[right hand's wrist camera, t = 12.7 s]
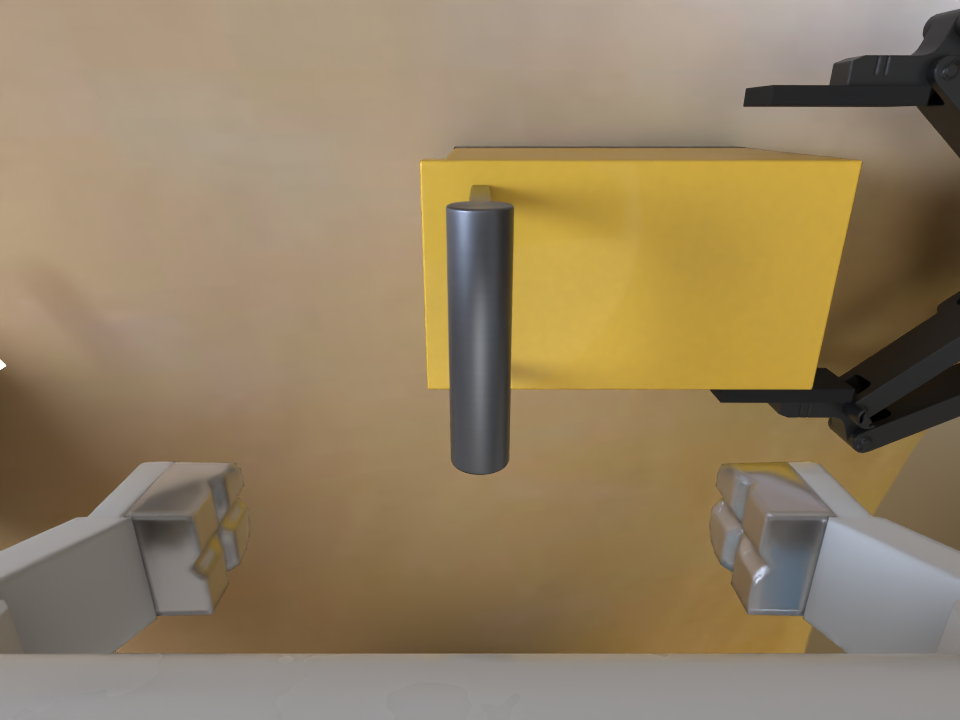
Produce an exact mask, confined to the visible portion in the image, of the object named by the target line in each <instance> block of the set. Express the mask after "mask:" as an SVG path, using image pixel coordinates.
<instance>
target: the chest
mask: <svg viewBox="0 0 960 720" xmlns="http://www.w3.org/2000/svg"><path fill="white" fill-rule="evenodd" d="M445 159H843V158H834V157H825V156H815V155H806V154H796V153H787V152H778V151H768V150H759V149H750V148H744V147H454V150H453V151H452V152H451V153H450V154H449V155H448V156H447V157H446V158H445Z"/></svg>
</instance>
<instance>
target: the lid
mask: <svg viewBox="0 0 960 720" xmlns="http://www.w3.org/2000/svg"><path fill="white" fill-rule="evenodd" d="M861 167H862V161H860V160H853V159H423V160H421V161H420V187H421V215H422V244H423V272H424V300H425V328H426V356H427V384H428V389H450V434H451V461H452V463H453V465H454V466H455V467H456V468H457V469H459V470H460V471H463V472H465V473H469V474H476V475H485V474H491V473H495V472H498V471H500V470H502V469H503V468H504V467H505V466H506V465H507V464H508V462H509V444H510V394H511V389H812V387H813V382H814V378H815V373H816V369H817V364H818V360H819V355H820V351H821V346H822V342H823V337H824V333H825V328H826V324H827V319H828V315H829V310H830V306H831V302H832V297H833V293H834V288H835V284H836V279H837V275H838V270H839V266H840V261H841V257H842V252H843V248H844V243H845V239H846V234H847V230H848V225H849V221H850V216H851V212H852V207H853V203H854V198H855V194H856V189H857V185H858V180H859V176H860V171H861Z"/></svg>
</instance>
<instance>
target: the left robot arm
mask: <svg viewBox="0 0 960 720" xmlns="http://www.w3.org/2000/svg"><path fill="white" fill-rule="evenodd" d="M923 37H924V40H923V42H922V43H921V45H920V47H919V48H918V49H917V50H916V51H915V52H914V53H913V54H912V55H910V56H909V55H890V56H888V55H880V56H878V55H865V56H859V57H853V58H847V59H844V60H842V61H839V62H837V63H834V65H833V70H832V75H831V80H830V85H771V86H763V87H754V88H746V92H745V99H744V105H743V107H897V106H917V108H918V109H919V110H920V111H921V112H922V114H923V115H924V116H925V117H926V118H927V120H928V121H929V122H930V123H931V124H932V126H933V127H934V128H935V129H936V130H937V132H938V133H939V134H940V135H941V136H942V137H943V139H944V140H945V141H946V142H947V143H948V145H949V146H950V147H951V148H952V149H953V151H954V152H955V153H956V154H957V155H958V157H959V158H960V9H957V10H953V11H949V12H944V13H940V14H936V15H934V16H933V17H931V18H930V19H929V20H928V21H927V22H926V24H925V26H924V29H923ZM959 361H960V291H959V292H958V293H956V294H955V295H953V296H952V297H950V298H948V299H947V300H945V301H944V302H942V303H941V304H940V305H939V306H938V307H937V313H936V314H935V315H934V316H932V317H931V318H929V319H928V320H926V321H925V322H923V323H921V324H920V325H918V326H917V327H915V328H914V329H912V330H911V331H909V332H908V333H906V334H905V335H903V336H902V337H900V338H899V339H897V340H895V341H894V342H892V343H891V344H889V345H888V346H886V347H885V348H883V349H882V350H880V351H879V352H877V353H876V354H874V355H873V356H871V357H869V358H868V359H866V360H865V361H863V362H862V363H860V364H859V365H857V366H856V367H854V368H853V369H851V370H850V371H848V372H847V373H845V374H843V375H842V376H840V377H838V376H836V375H835V374H833V373H832V372H831V371H829V370H828V369H826V368H817V369H816V373H815V378H814V382H813V387H812V389H710V391H711V392H712V393H713V394H714V395H715V396H716V398H717V399H718V400H719V401H720V402H721V403H768V404H769V405H770V406H771V407H772V408H773V409H774V410H775V411H777V412H778V413H779V414H781V415H783V416H786V417H830V418H829V421H828V425H829V427H830V429H832V430H833V431H834V432H835V433H836V434H837V435H838V436H840V437H841V438H842V439H843V440H844V441H845V442H846V443H848V444H849V445H850V446H851V447H852V448H853V449H854V450H856V451H857V452H860V453H865V452H869V451H871V450H874V449H876V448H879V447H882V446H884V445H887V444H889V443H892V442H895V441H897V440H900V439H902V438H905V437H907V436H910V435H913V434H915V433H918V432H920V431H923V430H925V429H928V428H931V427H933V426H936V425H938V424H941V423H944V422H946V421H949V420H951V419H954V418H956V417H959V416H960V363H958V364H956V363H957V362H959ZM954 364H955V365H954Z"/></svg>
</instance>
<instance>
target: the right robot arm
mask: <svg viewBox="0 0 960 720" xmlns="http://www.w3.org/2000/svg"><path fill="white" fill-rule="evenodd" d="M5 366H6V365H5V364H4V363H3V362H2V361H1V360H0V369H2V368H3V367H5ZM243 487H244V482H243V477H242V472H241V468H240V467H239V466H238V465H237V464H236V463H212V462H174V461H167V462H146V463H141V464H140V465H139V466H138V467H137V468H136V469H135V470H134V471H133V472H132V473H131V474H130V475H129V476H128V477H127V478H126V479H125V480H124V481H123V482H122V483H121V484H120V485H119V486H118V487H117V488H116V489H115V490H114V491H113V492H112V493H111V494H110V495H109V496H108V497H107V498H106V499H105V500H104V501H103V502H102V503H101V504H100V505H99V506H98V507H97V508H96V509H95V510H94V511H93V512H92V513H91V514H90V515H89V516H88V517H76V518H74V519H72V520H70V521H67V522H65V523H63V524H61V525H58V526H56V527H54V528H51V529H49V530H47V531H45V532H42V533H40V534H38V535H36V536H33V537H31V538H29V539H27V540H24V541H22V542H20V543H18V544H15V545H13V546H11V547H8V548H6V549H4V550H2V551H0V720H960V551H958V550H956V549H954V548H951V547H949V546H947V545H945V544H942V543H940V542H938V541H936V540H933V539H931V538H929V537H926V536H924V535H922V534H920V533H917V532H915V531H913V530H911V529H908V528H906V527H904V526H902V525H899V524H897V523H895V522H893V521H890V520H888V519H886V518H884V517H872V516H871V515H870V514H869V513H868V512H867V511H866V510H865V509H864V508H863V507H862V506H861V505H860V504H859V503H858V502H857V501H856V500H855V499H854V498H853V497H852V496H851V495H850V494H849V493H848V492H847V491H846V490H845V489H844V488H843V487H842V486H841V485H840V484H839V483H838V482H837V481H836V480H835V479H834V478H833V477H832V476H831V475H830V474H829V473H828V472H827V471H826V470H825V469H824V468H823V467H822V466H821V465H820V464H818V463H816V462H813V461H803V462H773V463H733V464H722V465H721V468H720V470H719V472H718V476H717V481H716V487H717V489H718V490H719V492H720V493H721V495H722V496H723V497H722V498H721V499H720V500H719V501H718V502H717V503H716V504H715V505H714V506H713V507H712V511H711V519H710V534H711V543H712V546H713V549H714V553H715V555H716V557H717V559H718V561H719V562H720V564H721V565H723V566H724V567H726V568H727V569H729V570H730V571H732V572H733V575H732V580H731V585H732V587H733V588H734V590H735V592H736V594H737V596H738V597H739V599H740V601H741V603H742V605H743V606H744V608H745V610H746V612H747V614H750V615H787V616H803V619H804V620H806V621H807V622H808V623H810V624H811V625H812V626H813V627H815V628H816V629H817V630H819V631H820V632H821V633H822V634H824V635H825V636H826V637H827V638H829V639H830V640H831V641H833V642H834V643H835V644H836V645H838V646H839V647H840V648H842V649H843V650H844V651H845V652H847V653H845V654H844V653H824V654H823V653H814V654H813V653H689V654H261V653H114V652H115V651H116V650H117V649H119V648H120V647H121V646H123V645H124V644H125V643H126V642H128V641H129V640H130V639H131V638H133V637H134V636H135V635H137V634H138V633H139V632H140V631H142V630H143V629H144V628H146V627H147V626H148V625H149V624H151V623H152V622H153V621H155V620H156V619H157V617H156V616H172V615H208V614H213V612H214V610H215V608H216V607H217V605H218V603H219V601H220V599H221V597H222V596H223V594H224V592H225V590H226V588H227V587H228V585H229V580H228V574H227V572H228V571H230V570H231V569H233V568H234V567H236V566H237V565H239V564H240V562H241V561H242V559H243V557H244V555H245V553H246V550H247V545H248V541H249V537H250V517H249V511H248V507H247V506H246V505H245V504H244V503H243V502H242V501H241V500H240V499H239V498H238V497H237V496H238V495H239V493H240V492H241V490H242V489H243Z"/></svg>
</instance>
